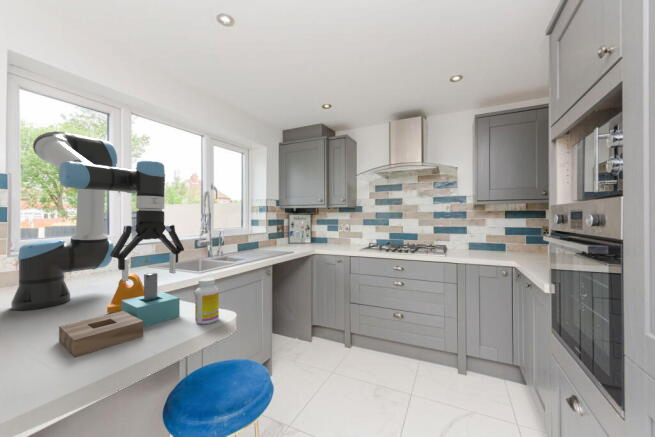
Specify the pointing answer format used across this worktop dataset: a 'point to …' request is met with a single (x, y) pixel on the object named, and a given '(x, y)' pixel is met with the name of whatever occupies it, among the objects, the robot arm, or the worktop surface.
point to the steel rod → (150, 287)
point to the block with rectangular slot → (153, 308)
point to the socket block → (99, 332)
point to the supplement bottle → (206, 302)
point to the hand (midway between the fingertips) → (150, 276)
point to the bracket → (126, 293)
